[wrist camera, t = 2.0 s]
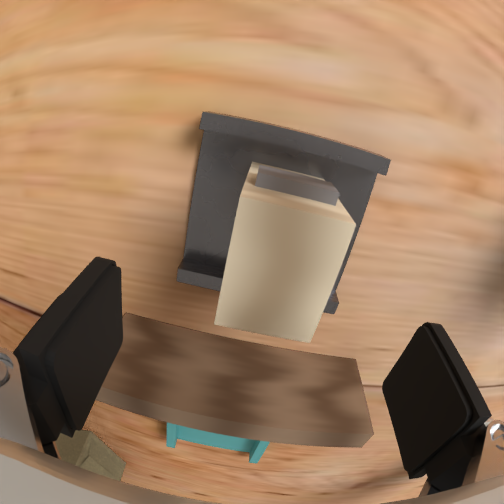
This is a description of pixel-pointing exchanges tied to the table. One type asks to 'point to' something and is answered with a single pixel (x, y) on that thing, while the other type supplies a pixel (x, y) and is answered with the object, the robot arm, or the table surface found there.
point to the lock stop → (283, 253)
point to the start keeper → (234, 176)
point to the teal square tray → (216, 440)
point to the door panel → (237, 387)
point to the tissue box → (90, 454)
